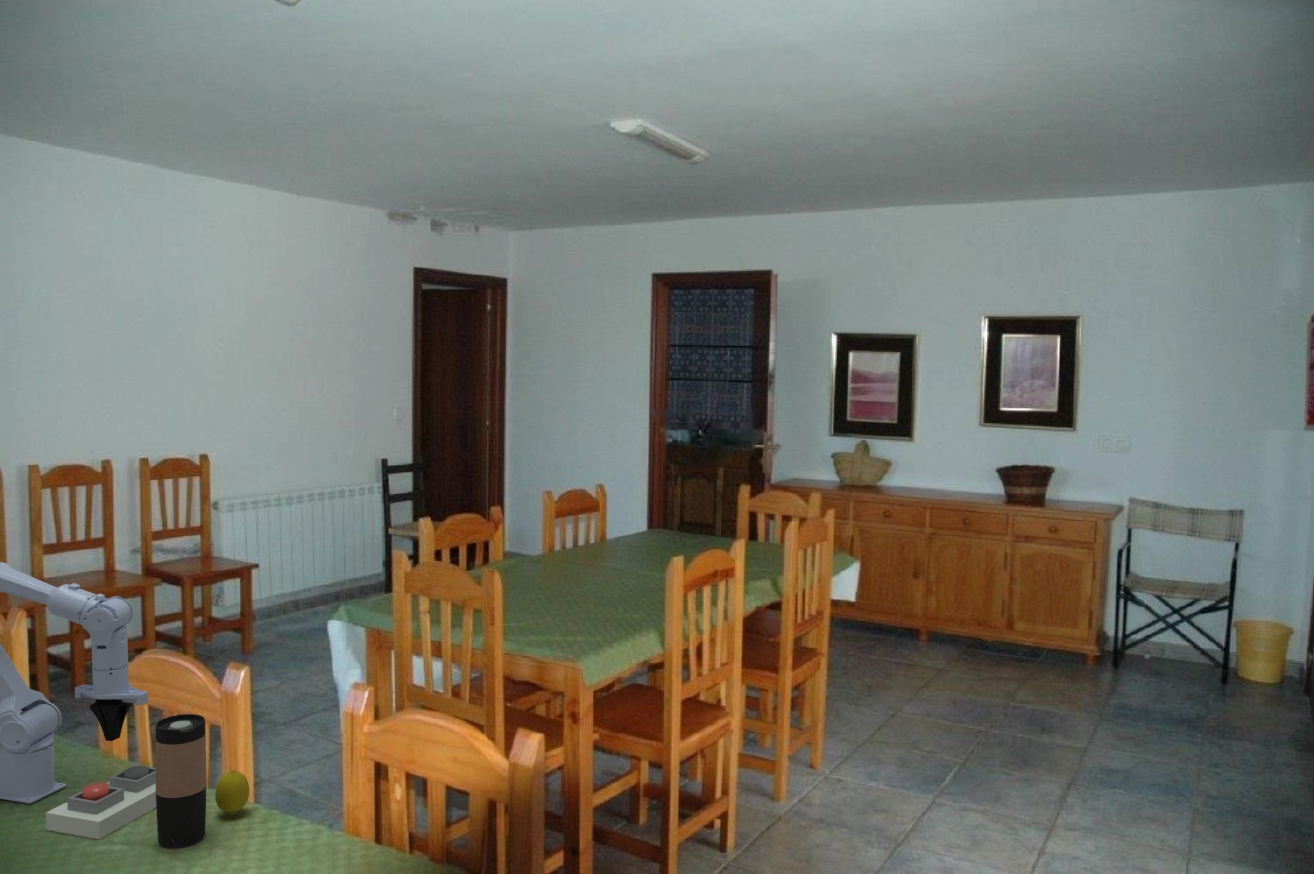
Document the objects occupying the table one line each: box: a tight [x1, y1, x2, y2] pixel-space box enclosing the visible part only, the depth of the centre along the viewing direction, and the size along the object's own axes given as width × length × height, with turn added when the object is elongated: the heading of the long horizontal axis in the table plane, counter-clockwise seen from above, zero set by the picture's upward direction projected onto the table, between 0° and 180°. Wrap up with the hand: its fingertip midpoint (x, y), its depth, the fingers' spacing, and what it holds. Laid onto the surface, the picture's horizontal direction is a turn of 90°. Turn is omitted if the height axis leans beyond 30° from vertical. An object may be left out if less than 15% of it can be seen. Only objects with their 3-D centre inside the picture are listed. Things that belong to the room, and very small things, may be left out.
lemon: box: [214, 769, 250, 815], centre depth 175 cm, size 6×6×8 cm
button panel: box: [45, 764, 156, 840], centre depth 175 cm, size 11×19×5 cm, turn 165°
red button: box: [82, 782, 109, 801], centre depth 171 cm, size 4×4×2 cm
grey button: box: [123, 765, 149, 780], centre depth 180 cm, size 4×4×2 cm
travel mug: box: [155, 713, 208, 849], centre depth 165 cm, size 8×8×20 cm
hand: (112, 738), depth 181 cm, fingers closed
